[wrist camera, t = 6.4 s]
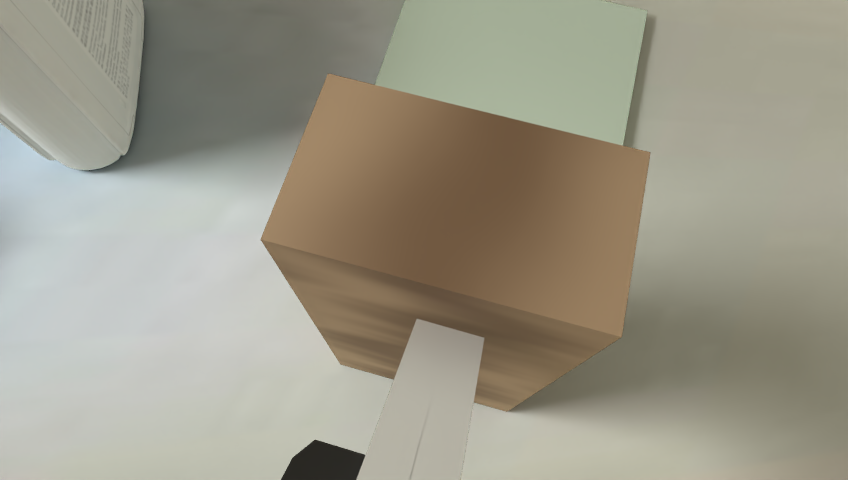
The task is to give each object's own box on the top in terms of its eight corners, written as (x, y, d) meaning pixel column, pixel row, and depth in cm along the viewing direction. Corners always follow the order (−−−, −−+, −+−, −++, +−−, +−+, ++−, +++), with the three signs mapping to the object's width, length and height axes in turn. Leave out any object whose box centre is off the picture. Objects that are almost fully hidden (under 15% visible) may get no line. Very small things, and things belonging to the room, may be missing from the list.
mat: (322, 239, 26) (320, 235, 26) (419, -34, 32) (419, -41, 31) (589, 310, 25) (592, 308, 25) (644, 17, 31) (647, 10, 30)
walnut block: (340, 364, 24) (260, 239, 11) (369, 274, 26) (328, 73, 13) (507, 411, 24) (621, 337, 11) (527, 317, 25) (650, 152, 12)
